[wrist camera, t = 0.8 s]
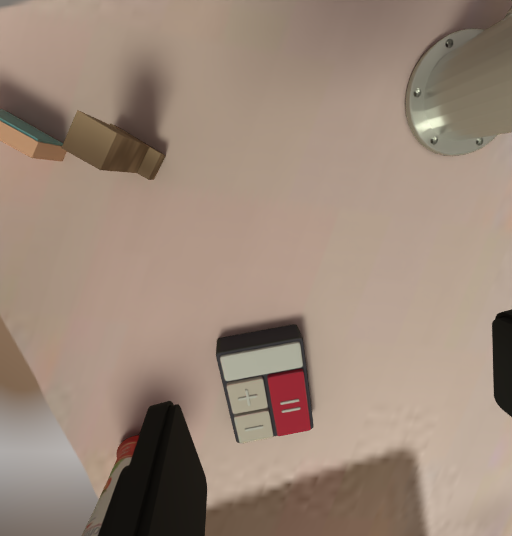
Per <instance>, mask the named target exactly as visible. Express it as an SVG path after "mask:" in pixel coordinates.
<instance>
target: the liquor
mask: <svg viewBox="0 0 512 536" xmlns="http://www.w3.org/2000/svg"><path fill="white" fill-rule="evenodd" d="M138 438H139V435H137V436H132V437H130V438H127V439H126V440H124V441H123V442H122V443H121V444H120V445H119V447H118V449H117V460H116V463H115V465H114V467H113V469H112V472H111V474H110V476H109V478H108V481H107V483H106V485H105V487H104V489H103V492H102V494H101V496H100V498H99V500H98V503H97V505H96V507H95V509H94V511H93V513H92V515H91V517H90V520H89V521H88V523H87V526H86V528H85V530H84V532H83V534H82V536H98V533H99V531H100V528H101V525H102V522H103V519H104V517H105V514H106V511H107V508H108V506H109V503H110V500H111V497H112V494H113V492H114V489H115V486H116V483H117V481H118V478H119V475H120V473H121V471H122V469H123V468H124V467H125V466H128V465H129V464H130V461H131V458H132V455H133V452H134V449H135V447H136V444H137V441H138Z"/></svg>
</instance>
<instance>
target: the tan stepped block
mask: <svg viewBox="0 0 512 536" xmlns="http://www.w3.org/2000/svg"><path fill="white" fill-rule="evenodd" d="M62 149H64V150H66V151H67V152H69V153H71V154H73V155H75V156H76V157H78V158H80V159H82V160H83V161H85V162H87V163H89V164H91V165H92V166H94V167H96V168H98V169H99V170H107V171H119V172H131V173H138V174H140V175H141V176H143V177H145V178H147V179H148V180H154V178H155V176H156V174H157V172H158V170H159V168H160V166H161V164H162V162H163V160H164V158H165V155H164V154H162V153H160V152H159V151H157V150H155V149H154V148H152V147H150V146H149V145H147V144H145V143H144V142H142V141H140V140H139V139H137V138H135V137H134V136H132V135H130V134H129V133H127V132H125V131H124V130H122V129H120V128H119V127H117V126H115V125H112V124H110V125H109V124H107V123H105V122H102V121H100V120H98V119H96V118H94V117H91V116H89V115H87V114H85V113H83V112H81V111H78V110H77V113H76V115H75V117H74V120H73V122H72V124H71V127H70V129H69V131H68V134H67V136H66V138H65V141H64V143H63V145H62Z"/></svg>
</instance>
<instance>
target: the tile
mask: <svg viewBox="0 0 512 536" xmlns="http://www.w3.org/2000/svg"><path fill="white" fill-rule="evenodd" d="M0 141H2V142H3V143H5V144H7V145H9V146H11V147H13V148H14V149H16V150H18V151H20V152H22V153H24V154H25V155H27V156H29V157H31V158H36V159H45V160H54V161H63V159H64V156H65V154H66V152H67V151H66V150H64V149H62V145H63V143H61V142H60V141H58V140H56V139H54V138H53V137H51V136H49V135H47V134H46V133H44V132H42V131H40V130H38V129H37V128H35V127H33V126H31V125H30V124H28V123H26V122H24V121H23V120H21V119H19V118H17V117H16V116H14V115H12V114H10V113H8V112H7V111H5V110H2V109H0Z"/></svg>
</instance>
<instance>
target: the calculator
mask: <svg viewBox="0 0 512 536" xmlns="http://www.w3.org/2000/svg"><path fill="white" fill-rule="evenodd" d="M216 358H217V362H218V366H219V370H220V374H221V379H222V383H223V387H224V391H225V396H226V400H227V404H228V408H229V413H230V417H231V421H232V425H233V429H234V434H235V438H236V441H237V442H238V443H246V442H252V441H257V440H262V439H267V438H272V437H273V436H283V435H288V434H293V433H298V432H303V431H308V430H310V429H312V428H313V417H312V409H311V401H310V393H309V385H308V377H307V369H306V361H305V353H304V345H303V339H302V336H301V334H300V332H299V329H298V327H297V325H288V326H283V327H278V328H272V329H267V330H261V331H256V332H250V333H245V334H240V335H234V336H229V337H223V338H219V339H218V340H217V348H216Z"/></svg>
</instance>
